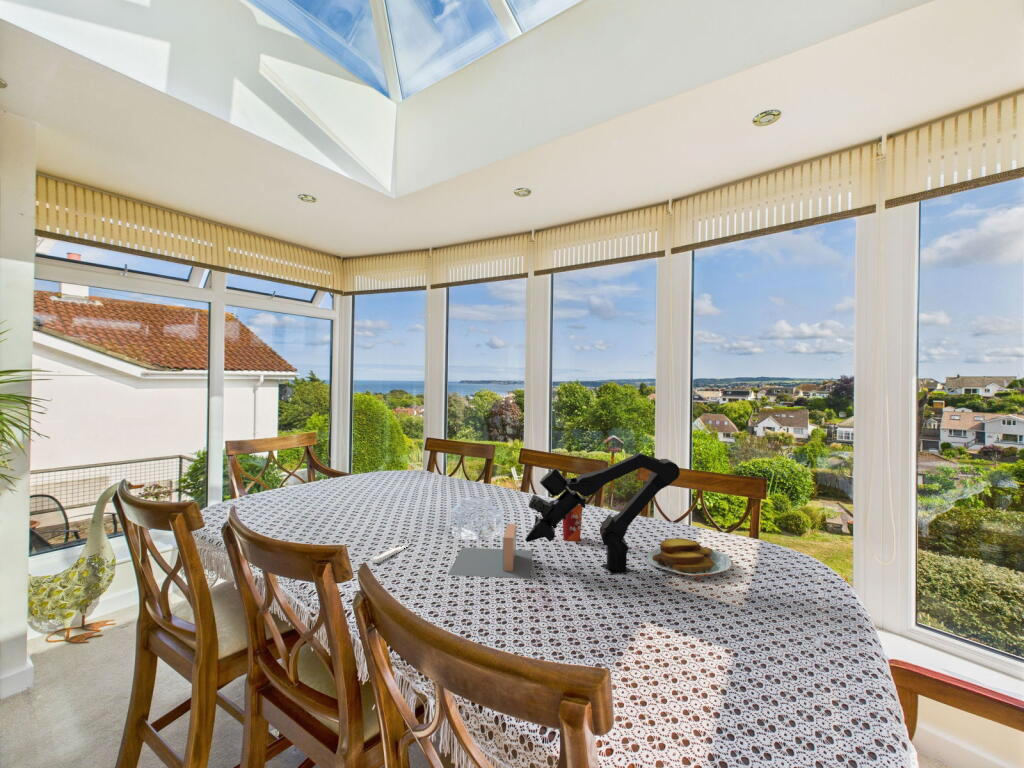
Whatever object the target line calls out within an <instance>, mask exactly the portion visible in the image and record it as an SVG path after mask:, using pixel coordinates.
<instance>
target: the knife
mask: <svg viewBox="0 0 1024 768" xmlns="http://www.w3.org/2000/svg"><path fill="white" fill-rule="evenodd" d="M403 547H404V548H405V549H407V548H406V547H408V546H406V547H405V546H402V547H400V546H398V547H395V548H392V547H391V548H387V551H385V552H383V553H382V554H380V555H379V556H373V557H372V558H371V561H372V563H373V564H376V563H378V564H380V563H382V562H384V561H386V560H388V559H390V558H391V557H390V556H392V555H394V554H395V555H397V554H399V553H400V552H401V551H403V550H405V549H404V548H403ZM408 548H409V547H408ZM396 553H397V554H396ZM395 555H394V556H395ZM389 557H390V558H389ZM392 557H393V556H392ZM387 558H388V559H387ZM385 559H386V560H385ZM383 560H384V561H383ZM381 561H382V562H381Z"/></svg>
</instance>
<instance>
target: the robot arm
mask: <svg viewBox="0 0 1024 768" xmlns="http://www.w3.org/2000/svg"><path fill="white" fill-rule="evenodd" d="M642 468H643V469H644V470H645V469H646V470H648V471H650V474H649V476H648V479H647V481H646V482H645V483H644V484H643V485H642V486H641V487H640V488H639V489H638V491H637V492H636V493H635V494H634V495H633V497H631V499H630V500H629V501H628V502H627V503H626V504H625V506H624V507H623V508H621V510H620V511H619V513H617V514H615V515H614V516H612V515H611V514H610V513H608V515H607V516H606V517H605V519H604V520H603V521H601V522H600V525H601V526H600V527H599V534H600V537H601V540H602V542H603V544H604V545H605V546H606V563H603V564H602V565H601V566H602V568H604V569H605V570H606V571H608V572H609V573H610V574H612V575H617V574H623V573H630V572H632V570H631V568H629V567H628V566H627V562H628V561H627V558H628V556H627V555H628V552H629V549H630V548H629V546H628V543H627V542H626V539H625V538H624V537H625V536H626V533H627V531H628V529H629V526H630V524H632V522H633V521H634V520H635V519H636V518H637V517H638V515H639V514H640V513H641V512H642V511H643V510H644V509H645V508H646V506H648V504H649V503H650V502H651V501H652V500H653V498H654V497H655V496H657V494H658V493H659V492H660V491H661V490H662V489H665V488H666V487H668V486H670V485H671V484H672V483H673V482H675V481H676V480H677V479H678V478H679V476H680V474H681V473H680V467H679V465H677V464H676V463H675V462H673V461H672V460H670V459H669V458H660V459H659V458H656V457H653V456H649V455H646V454H644V453H642V452H637V453H634V454H633V455H631V456H629V457H626V458H624V459H622V460H621V461H618V462H616V463H613V464H612V465H609V466H607V467H605V468H603V469H599V470H596V471H595V470H593V471H590V472H585V473H581V474H580V475H578V476H577V477H571V478H565V477H564V475H563V474H562V473H561V472H560V471H559V469H558V468H557V467H555V468H553V469H552V470H550V471H548V473H546V474H544V476H543V477H542V478H541V480H539V483H540V485H541V486H542V487H543V488H544V489H545V490H546V491H547V492H548V493H549V495H551V496H555V497H556V498H555V500H554V499H552V500H551V501H549V502H548V501H547V500H545V499H543V498H541V497H539V496H537V495H535V494H532V495H531V498H530V500H529V502H528V508H530V509H531V510H535V511H536V513H537V514H539V513H540V515H539V516H537V515H535V519H534V525H533V527H531V529H530V531H529V532H528V534H527V536H526V538H525V539H524V540H525V542H526V543H530V542H532V541H536V540H539V539H542V538H543V539H544V538H545V539H546V540H547V541H548V542H552V541H553V540H554V539H555V538H556V531H555V530H556V529H557V527H558V525H559V524H560V523H561V522H563V519H564V520H565V519H566V518H567V515H568V514H569V513H570V512H571V511H572V510H573V509H574V508H575V507H576V506H577V505H579V504H580V505H581V506H582V509H586V501H587V497H590V496H592V495H594V494H595V493H597V492H598V491H599V490H600V489H601V488H603V487H604V486H605V485H607V484H608V483H610V482H612V481H614V480H617V479H619V478H621V477H624V476H625V475H628V474H630V473H632V472H635V471H637V470H639V469H642Z"/></svg>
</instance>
